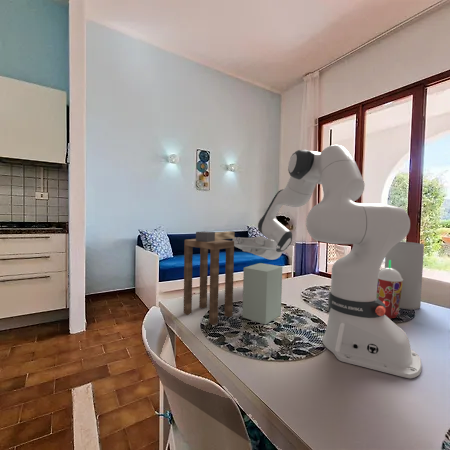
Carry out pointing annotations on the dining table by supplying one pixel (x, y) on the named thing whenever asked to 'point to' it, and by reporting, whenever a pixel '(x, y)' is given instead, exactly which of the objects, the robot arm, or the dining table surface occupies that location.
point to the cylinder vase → (408, 271)
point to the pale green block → (262, 292)
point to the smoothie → (390, 290)
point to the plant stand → (214, 276)
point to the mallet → (213, 236)
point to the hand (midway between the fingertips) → (245, 239)
